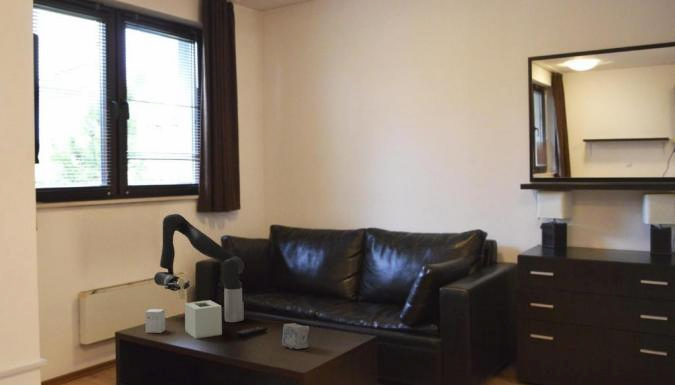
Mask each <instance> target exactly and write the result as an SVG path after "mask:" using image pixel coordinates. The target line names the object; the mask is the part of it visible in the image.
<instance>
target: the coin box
mask: <svg viewBox="0 0 675 385" xmlns="http://www.w3.org/2000/svg"><path fill="white" fill-rule="evenodd" d="M222 313H223V312H222V305H221V304H218V303H216V302H214V301H212V300H210V299H209V300H200V301H192V302H191V301H190V302H185V303H184V326H185V327H184V332H186V333H187V334H189V336H191V337H192V338H194V339H196V340H197V339H203V338H209V337H216V336H222V334H223V327H222V326H223V322H222V320H223V319H222V316H223V315H222Z"/></svg>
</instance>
